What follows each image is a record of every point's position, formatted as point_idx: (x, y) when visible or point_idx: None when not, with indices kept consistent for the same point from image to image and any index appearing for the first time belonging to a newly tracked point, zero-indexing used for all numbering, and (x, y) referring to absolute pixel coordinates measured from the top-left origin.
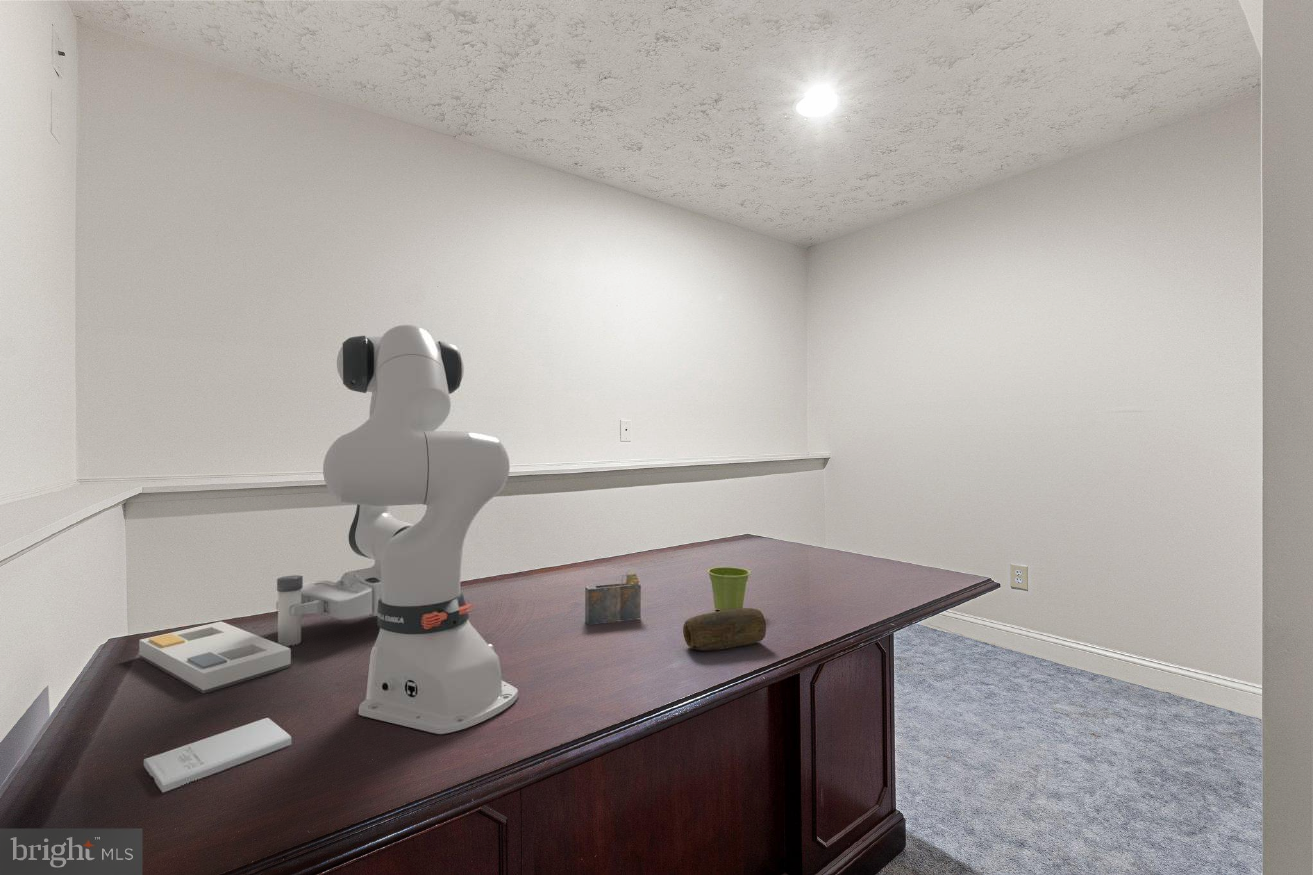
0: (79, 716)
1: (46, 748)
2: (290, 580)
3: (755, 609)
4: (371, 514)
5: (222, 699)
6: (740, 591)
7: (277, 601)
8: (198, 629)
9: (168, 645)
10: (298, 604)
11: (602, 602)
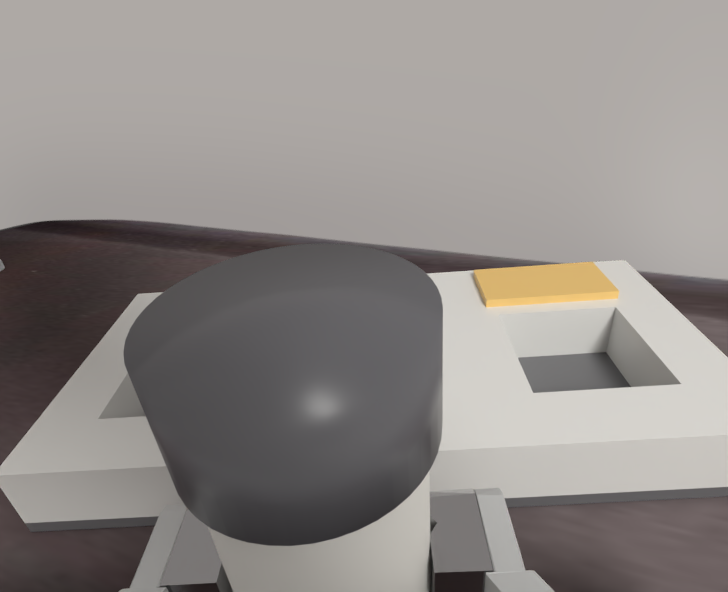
0: (284, 245)
1: (204, 230)
2: (168, 290)
3: None
4: None
5: (73, 352)
6: None
7: (498, 489)
8: (664, 351)
9: (476, 281)
10: (185, 550)
11: None
